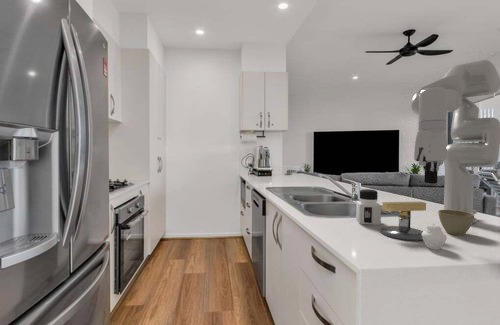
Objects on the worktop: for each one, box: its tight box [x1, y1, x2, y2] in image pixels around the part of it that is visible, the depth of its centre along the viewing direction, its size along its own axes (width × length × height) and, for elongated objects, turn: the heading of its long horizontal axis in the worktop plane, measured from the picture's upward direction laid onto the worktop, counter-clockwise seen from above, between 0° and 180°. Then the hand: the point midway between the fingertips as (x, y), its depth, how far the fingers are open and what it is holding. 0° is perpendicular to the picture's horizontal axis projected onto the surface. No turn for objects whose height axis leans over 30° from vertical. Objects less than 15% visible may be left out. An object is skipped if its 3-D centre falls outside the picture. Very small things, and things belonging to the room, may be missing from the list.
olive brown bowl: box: [437, 209, 475, 236], centre depth 95 cm, size 10×10×7 cm
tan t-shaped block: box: [381, 201, 427, 219], centre depth 93 cm, size 2×14×5 cm, turn 96°
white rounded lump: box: [422, 224, 447, 251], centre depth 80 cm, size 6×6×7 cm
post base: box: [380, 211, 424, 242], centre depth 93 cm, size 14×14×10 cm
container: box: [355, 188, 382, 226], centre depth 110 cm, size 8×8×13 cm
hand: (430, 182), depth 91 cm, fingers closed
